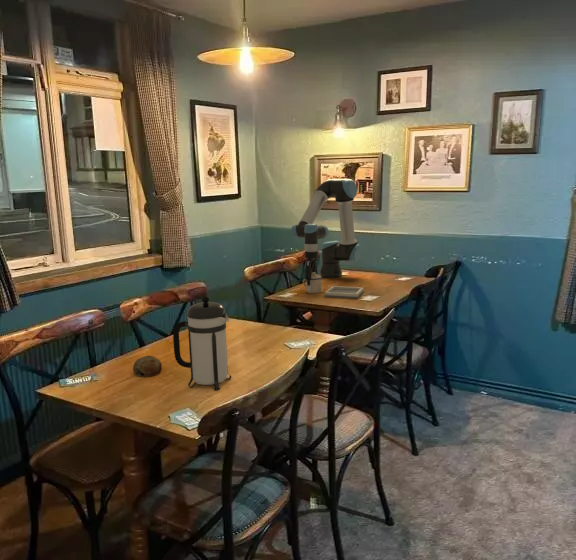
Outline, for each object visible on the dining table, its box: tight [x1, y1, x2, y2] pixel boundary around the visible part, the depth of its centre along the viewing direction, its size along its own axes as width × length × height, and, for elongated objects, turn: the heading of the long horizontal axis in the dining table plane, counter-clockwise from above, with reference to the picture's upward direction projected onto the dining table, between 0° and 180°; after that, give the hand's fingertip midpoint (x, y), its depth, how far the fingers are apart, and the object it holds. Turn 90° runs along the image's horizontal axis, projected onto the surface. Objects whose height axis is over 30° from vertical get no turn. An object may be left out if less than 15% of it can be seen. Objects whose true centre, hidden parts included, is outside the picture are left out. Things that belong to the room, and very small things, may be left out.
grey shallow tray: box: [323, 285, 365, 299], centre depth 301 cm, size 17×19×2 cm
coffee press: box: [172, 296, 232, 391], centre depth 175 cm, size 17×16×30 cm
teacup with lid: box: [302, 272, 323, 294], centre depth 309 cm, size 12×9×12 cm
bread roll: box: [132, 355, 162, 378], centre depth 189 cm, size 10×10×8 cm
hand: (311, 289), depth 309 cm, fingers closed on teacup with lid, 9 cm apart
